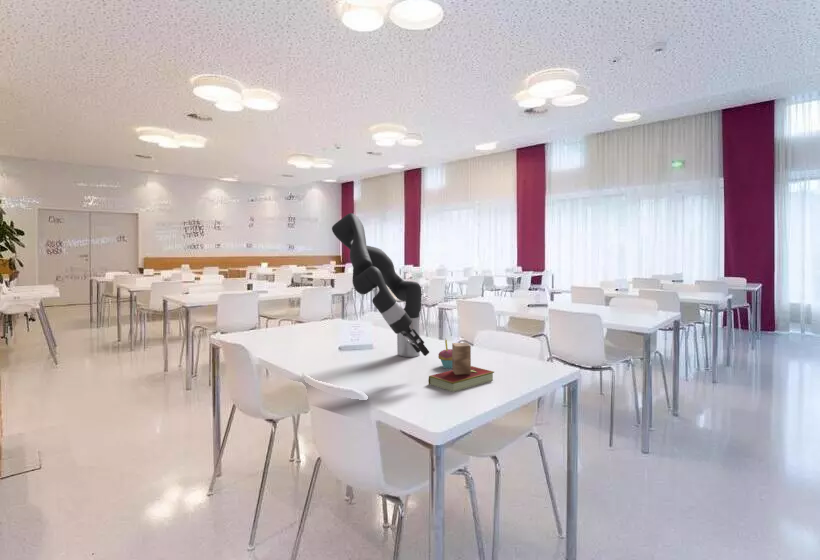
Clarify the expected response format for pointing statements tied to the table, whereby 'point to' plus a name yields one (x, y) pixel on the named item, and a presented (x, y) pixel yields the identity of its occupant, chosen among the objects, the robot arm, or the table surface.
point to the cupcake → (446, 357)
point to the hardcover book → (461, 379)
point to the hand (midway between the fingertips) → (423, 352)
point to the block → (461, 358)
